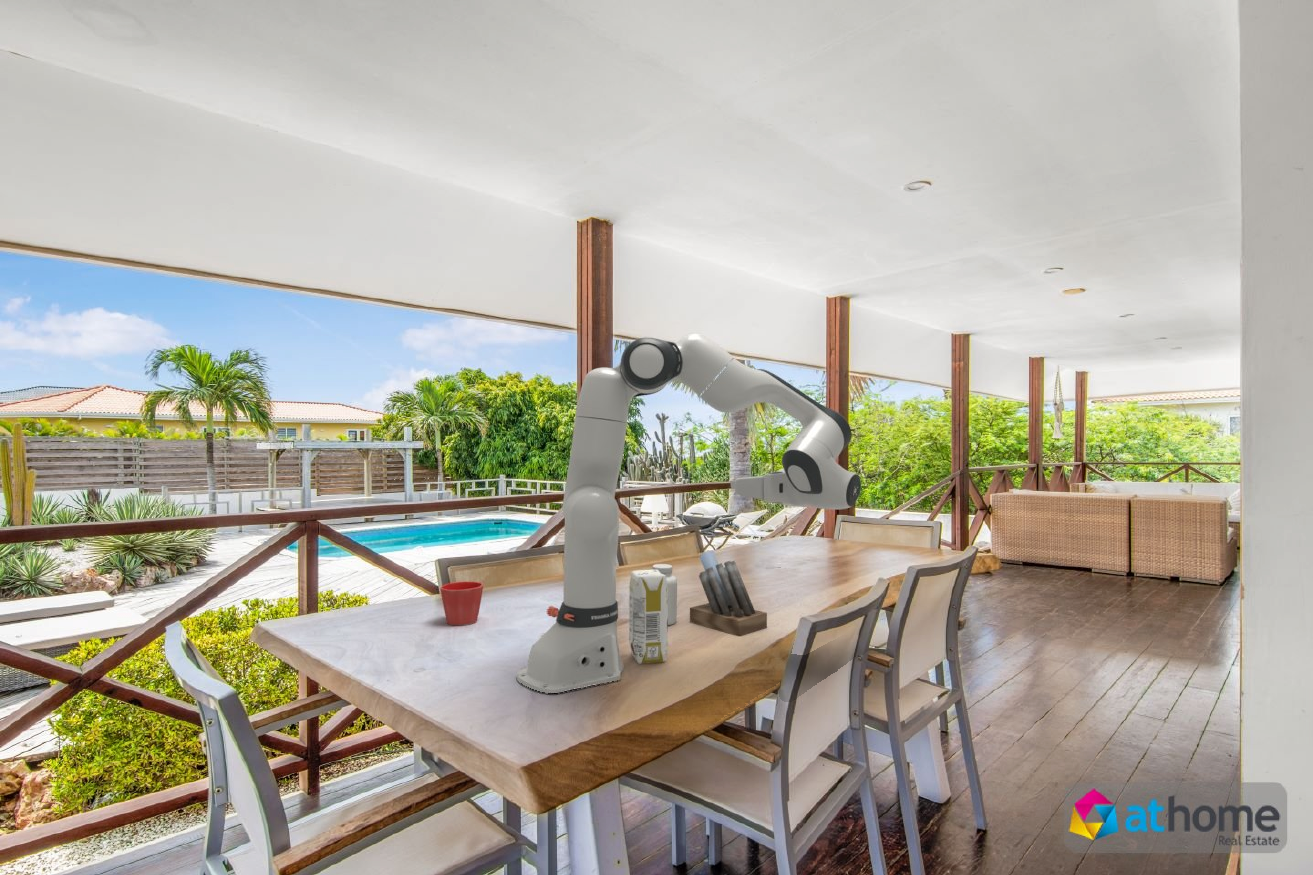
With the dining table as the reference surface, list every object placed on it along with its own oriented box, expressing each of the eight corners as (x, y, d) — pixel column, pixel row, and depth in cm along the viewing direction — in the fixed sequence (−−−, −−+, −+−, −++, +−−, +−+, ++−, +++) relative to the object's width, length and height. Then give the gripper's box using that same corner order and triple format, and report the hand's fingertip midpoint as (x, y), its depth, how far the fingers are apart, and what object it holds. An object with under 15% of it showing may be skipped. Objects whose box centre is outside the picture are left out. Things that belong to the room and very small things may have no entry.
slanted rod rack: (766, 630, 173) (767, 562, 172) (739, 638, 165) (739, 568, 165) (717, 617, 185) (717, 553, 185) (689, 624, 178) (690, 558, 178)
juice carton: (636, 665, 143) (636, 577, 143) (627, 653, 152) (627, 569, 152) (670, 662, 145) (670, 575, 145) (659, 650, 154) (659, 568, 154)
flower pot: (437, 619, 180) (437, 583, 180) (479, 614, 185) (479, 579, 185) (443, 629, 170) (443, 591, 170) (486, 624, 175) (486, 587, 175)
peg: (727, 604, 172) (705, 551, 178) (717, 610, 175) (696, 557, 180) (737, 602, 175) (715, 549, 181) (727, 607, 178) (706, 555, 183)
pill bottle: (677, 626, 173) (677, 568, 173) (646, 626, 174) (646, 568, 174) (676, 618, 181) (677, 562, 181) (647, 617, 182) (647, 562, 182)
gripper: (818, 470, 159) (772, 468, 169) (765, 474, 145) (717, 471, 155) (818, 497, 159) (772, 493, 169) (765, 503, 145) (717, 498, 155)
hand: (745, 483), depth 162 cm, fingers open, 8 cm apart
